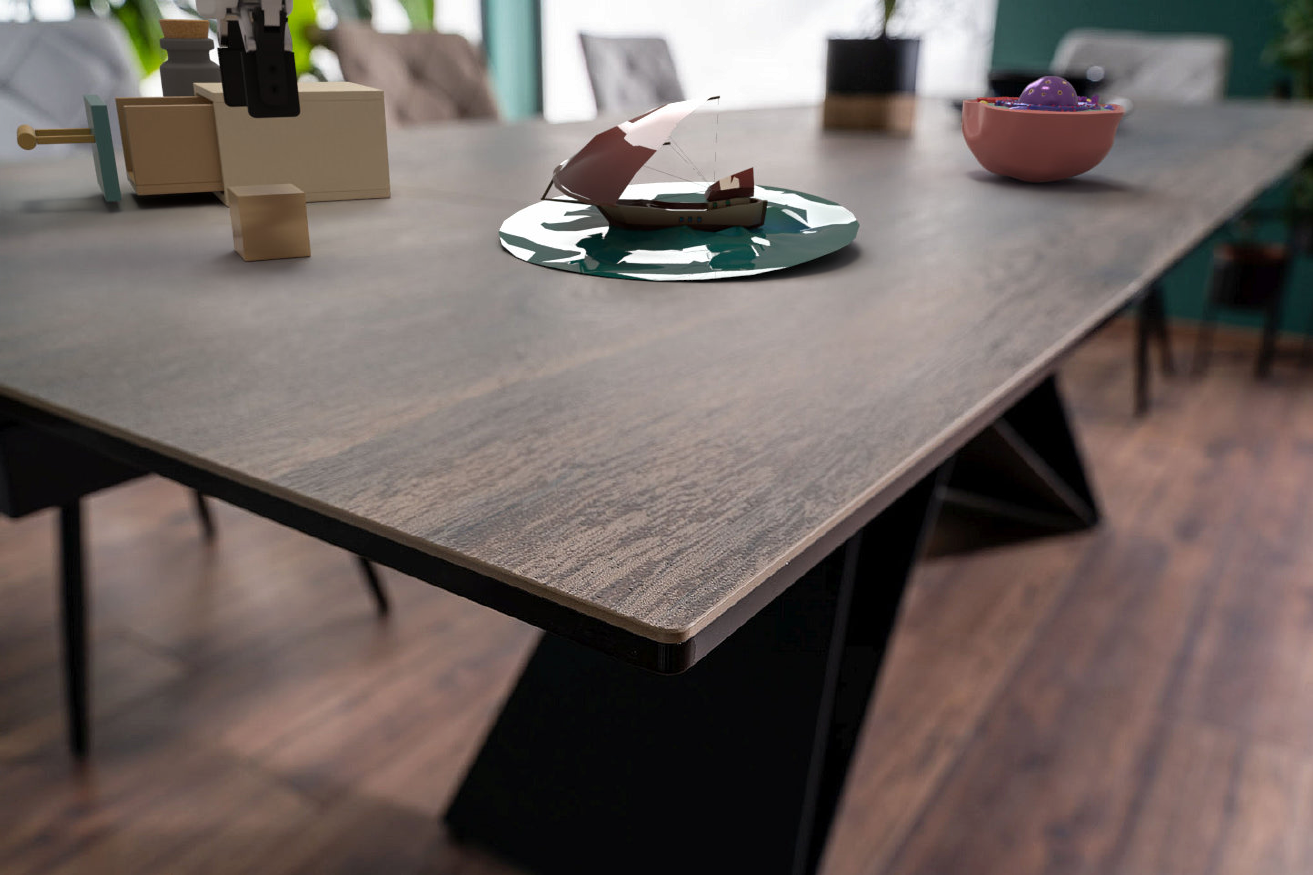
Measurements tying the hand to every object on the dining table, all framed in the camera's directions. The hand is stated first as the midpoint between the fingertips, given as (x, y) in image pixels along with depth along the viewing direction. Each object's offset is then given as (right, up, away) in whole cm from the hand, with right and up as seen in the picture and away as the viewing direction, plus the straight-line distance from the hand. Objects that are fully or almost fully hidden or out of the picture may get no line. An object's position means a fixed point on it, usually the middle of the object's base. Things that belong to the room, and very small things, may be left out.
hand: (261, 111), depth 74 cm
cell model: (+70, +7, +49) cm, 85 cm away
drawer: (-18, 0, +23) cm, 29 cm away
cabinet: (-7, +1, +29) cm, 30 cm away
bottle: (-21, +5, +40) cm, 45 cm away
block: (0, -9, +4) cm, 10 cm away
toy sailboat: (+29, -7, +11) cm, 32 cm away
